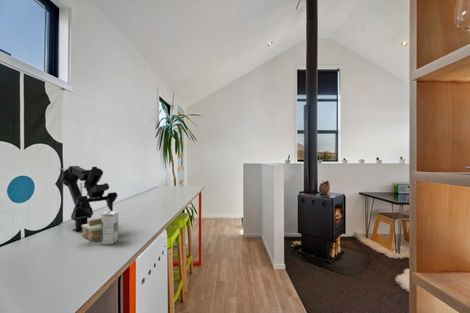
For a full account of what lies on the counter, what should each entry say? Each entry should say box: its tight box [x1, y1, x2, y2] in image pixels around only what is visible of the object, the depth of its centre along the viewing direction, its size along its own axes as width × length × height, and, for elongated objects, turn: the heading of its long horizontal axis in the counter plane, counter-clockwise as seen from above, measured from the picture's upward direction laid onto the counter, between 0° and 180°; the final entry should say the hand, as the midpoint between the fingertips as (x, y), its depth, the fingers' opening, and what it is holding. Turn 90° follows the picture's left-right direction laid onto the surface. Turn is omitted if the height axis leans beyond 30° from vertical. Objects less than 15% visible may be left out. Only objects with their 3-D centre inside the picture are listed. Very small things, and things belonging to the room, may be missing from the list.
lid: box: [82, 218, 101, 231], centre depth 122 cm, size 12×9×4 cm
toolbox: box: [81, 227, 101, 242], centre depth 122 cm, size 12×9×5 cm
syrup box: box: [100, 210, 119, 246], centre depth 114 cm, size 6×6×14 cm
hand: (102, 212), depth 118 cm, fingers open, 9 cm apart
